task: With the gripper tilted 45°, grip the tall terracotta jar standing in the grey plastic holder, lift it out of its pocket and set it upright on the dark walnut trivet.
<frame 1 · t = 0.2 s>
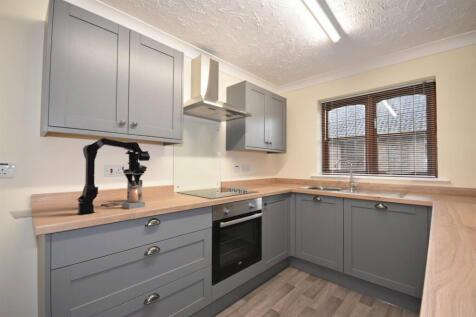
hand: (133, 184, 149), 15 cm above the counter, tool pointing down, fingers open, 9 cm apart
jar: (133, 206, 141), point 1 cm above the counter, touching holder
holder: (133, 208, 141), on the counter
trivet: (113, 206, 151), on the counter
coffee box: (134, 200, 174), on the counter
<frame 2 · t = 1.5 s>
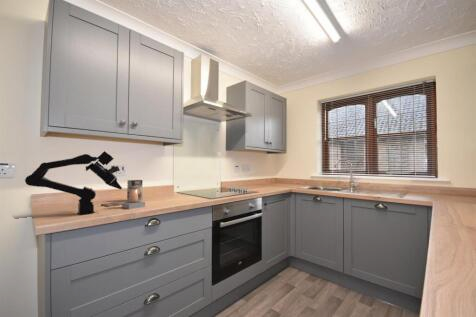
hand: (120, 188, 138), 13 cm above the counter, tool tilted 45°, fingers open, 9 cm apart
nothing on the counter moved.
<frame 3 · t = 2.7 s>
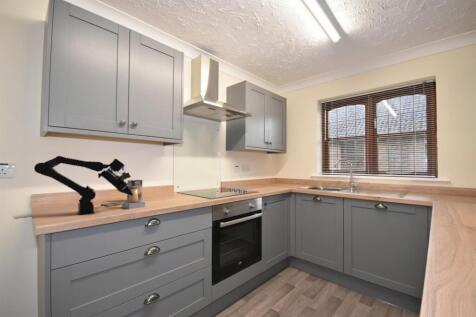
hand: (131, 194, 141), 9 cm above the counter, tool tilted 45°, fingers open, 9 cm apart
nothing on the counter moved.
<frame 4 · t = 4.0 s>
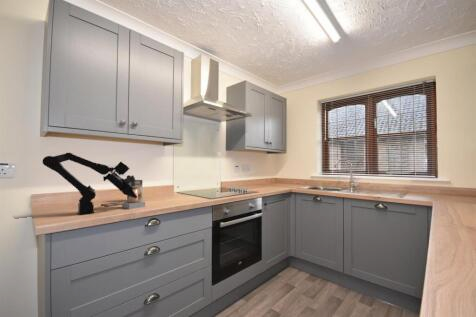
hand: (136, 197, 142), 7 cm above the counter, tool tilted 45°, fingers closed on jar, 5 cm apart
jar: (133, 206, 141), point 1 cm above the counter, touching gripper, holder
everything else where it was.
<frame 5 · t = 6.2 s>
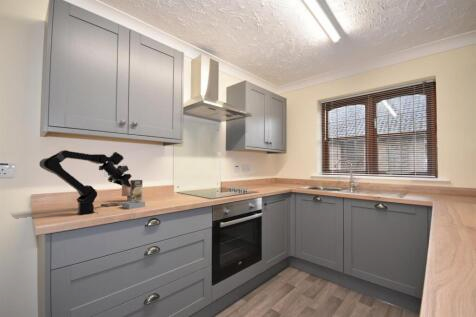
hand: (128, 186, 150), 13 cm above the counter, tool tilted 45°, fingers closed on jar, 5 cm apart
jar: (126, 195, 148), point 7 cm above the counter, touching gripper
everything else where it was.
when the fingers open (9 cm above the counter, at t = 8.4 s): jar drops 1 cm, resting on trivet.
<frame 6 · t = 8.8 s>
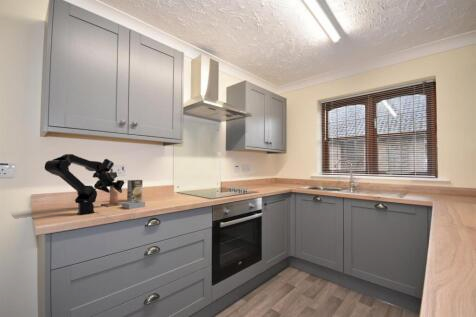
hand: (115, 192, 153), 9 cm above the counter, tool tilted 45°, fingers open, 9 cm apart
jar: (113, 203, 151), point 2 cm above the counter, touching trivet
everything else where it was.
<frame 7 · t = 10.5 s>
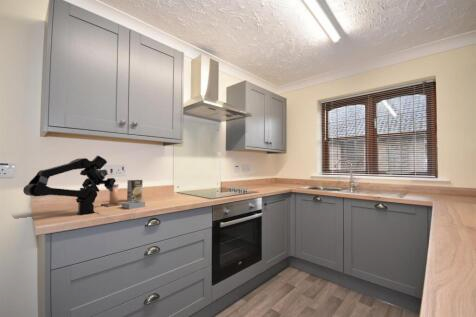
hand: (105, 191, 144), 11 cm above the counter, tool tilted 45°, fingers open, 9 cm apart
nothing on the counter moved.
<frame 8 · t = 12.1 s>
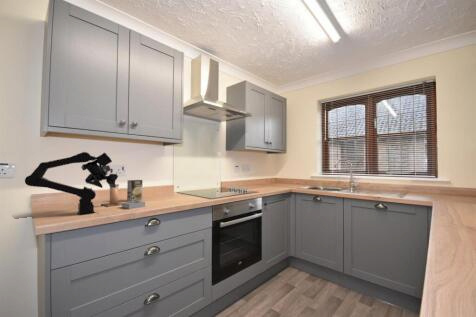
hand: (108, 187, 143), 14 cm above the counter, tool tilted 45°, fingers open, 9 cm apart
nothing on the counter moved.
at the end: jar 0.1 cm off-centre on the trivet, point 1.5 cm above the trivet's base; jar tilted 1°; the gripper is holding nothing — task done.
